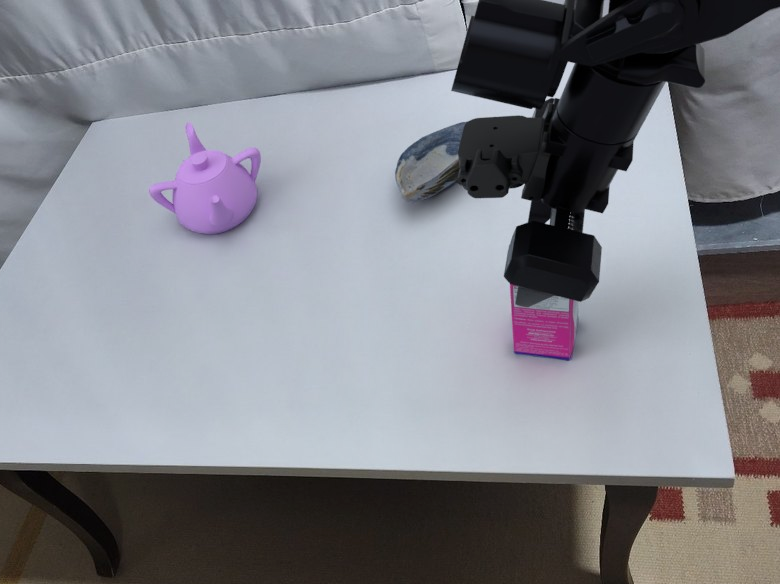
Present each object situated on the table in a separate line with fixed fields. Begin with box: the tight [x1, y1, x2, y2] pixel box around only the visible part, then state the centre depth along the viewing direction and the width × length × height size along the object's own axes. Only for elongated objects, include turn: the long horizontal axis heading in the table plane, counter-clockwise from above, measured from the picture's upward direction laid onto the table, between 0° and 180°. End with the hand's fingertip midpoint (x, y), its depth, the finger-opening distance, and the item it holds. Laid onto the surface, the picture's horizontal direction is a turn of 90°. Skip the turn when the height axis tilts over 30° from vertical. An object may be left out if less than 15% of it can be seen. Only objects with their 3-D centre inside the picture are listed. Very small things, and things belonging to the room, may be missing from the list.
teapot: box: [148, 122, 262, 235], centre depth 99 cm, size 12×14×9 cm
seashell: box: [394, 120, 469, 203], centre depth 94 cm, size 15×12×5 cm
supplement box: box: [509, 283, 580, 361], centre depth 73 cm, size 6×6×12 cm
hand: (527, 263), depth 65 cm, fingers open, 9 cm apart
